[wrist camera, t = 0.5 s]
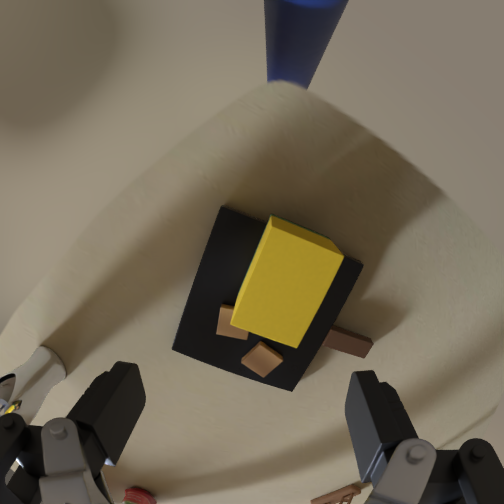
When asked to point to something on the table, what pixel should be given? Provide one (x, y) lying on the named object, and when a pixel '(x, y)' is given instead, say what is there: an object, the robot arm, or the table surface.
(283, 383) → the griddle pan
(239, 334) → the block
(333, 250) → the sponge
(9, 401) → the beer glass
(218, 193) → the table surface
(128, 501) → the liquor
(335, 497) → the film reel ornament
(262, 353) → the scrap
